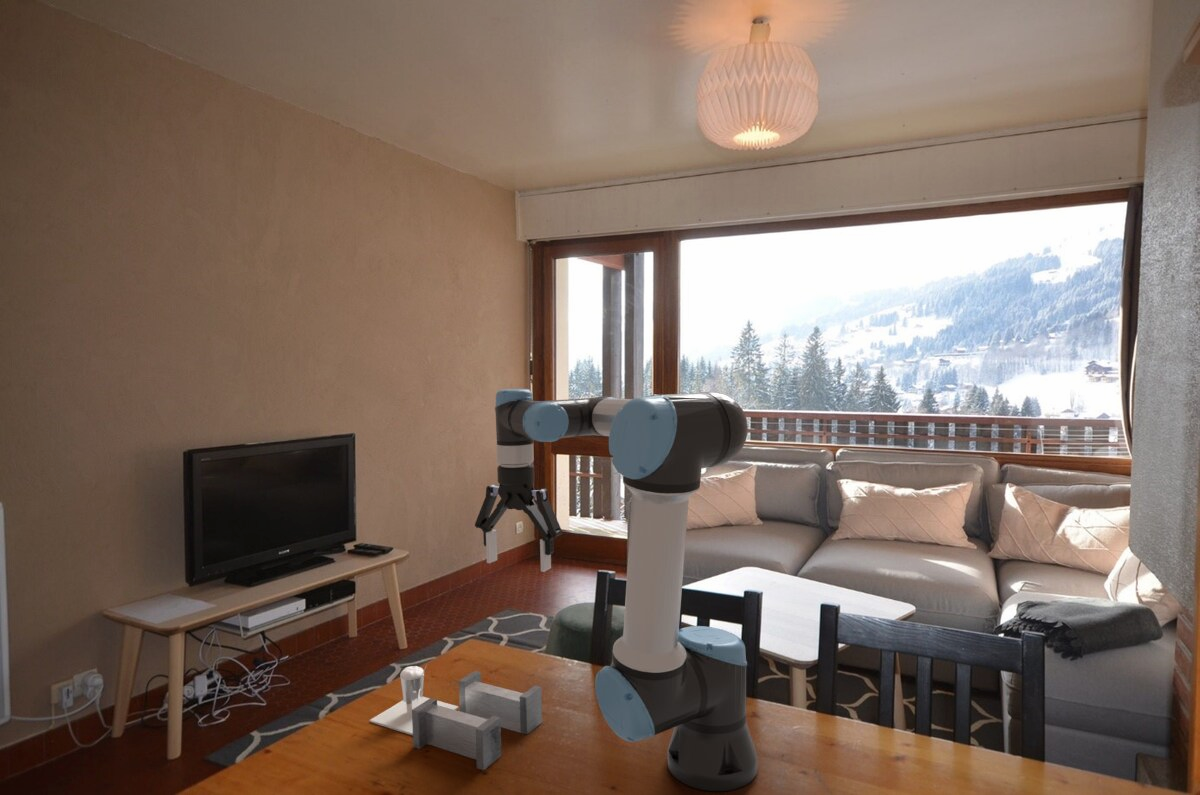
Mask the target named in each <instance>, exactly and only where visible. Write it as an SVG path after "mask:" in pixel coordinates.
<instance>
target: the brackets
mask: <svg viewBox="0 0 1200 795" xmlns="http://www.w3.org/2000/svg"><path fill="white" fill-rule="evenodd" d="M458 694H459V710H453V709H449V708H446V707H442V706H439V705H437V701H438V699H436V698H433V697H431V698H430V697H429V698H430V699H428V700H427V701H425V702H424V703H422V704H420V705H419V706H417V707H416V708H414V709H412V727H413V735H412V745H413V748H414V749H417V750H421V749H422V748H424V747H425V746H427V745H430V746H433V747H435V748H439V749H441V750H445V751H448V752H451V753H455V754H458V755H461V756H462V757H463V756H464V757H466V758H470V759H472V760H476V769H479V770H482V771H485V770H486V769H487V768H490V767H489V766H491V765H492V764H493V763H495V762H496V761H497V760H498V759H500V758H501V757H502V735H501V734H502V733H501V732H502V731H501V730H502V729H507V730H509V731H512V732H513V731H514V732H517V733H520V734H524V735H529V734H530V733H531V732H532V731H534V730H535V729H536V728H538V726H539V725H541V724H542V723H543V708H542V707H543V706H542V704H543V703H542V686H538V685H535V684H534V685H533V686H532V687H530V688H529V689H528V690H526V691H525V692H520V691H516V690H512V689H507V688H504V687H500V686H496V685H494V684H493V685H492V684H489V683H484V682H482V672H481V671H479V670H474V671H472V672H470V673H469V674H467V675H465V676H464V677H463V678H461V679H459V680H458Z"/></svg>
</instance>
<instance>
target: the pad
mask: <svg viewBox="0 0 1200 795" xmlns="http://www.w3.org/2000/svg"><path fill="white" fill-rule="evenodd" d="M428 699H430V697H426V696H423V702H422V703H424V702H425V701H427V700H428ZM437 705H439V706H442V707H446V708H449V709H453V710H456V711H458V710H460V705H459V706H458V705H456V704H455V705H454V704H451V703H449V702H448V703H447V702H444V701H440V700H437ZM369 722H370V723H371V724H375V725H378V726H381V727H385V728H388V729H390V730H394V731H398V732H400V733H404V734H407V735H410V736H413V727H412V717H408V716H406V715H405V709H404V700H403V699H402V700H401V701H399V702H397V703H396V704H394V705H393V706H390V708H387V709H385V710H384V711H382V712H381V713H379V714H378V715H375V716H374V717H372V718H371V719H369Z"/></svg>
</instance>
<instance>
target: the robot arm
mask: <svg viewBox="0 0 1200 795" xmlns="http://www.w3.org/2000/svg"><path fill="white" fill-rule="evenodd" d="M532 393H533V392H532V391H531V390H530V389H528V388H506V389H505V388H503V389H499V390H498V391H496V394H495V405H494V406H495V407H494V410H495V411H494V412H495V431H496V432H495V434H496V463H497V464H498V466H497V468H496V469H497V483H498V484H499V485H497V484H496V483H494V484H490V485H487V486H486V487H485V488H486V489H485V496H484V497H485V498H484V500H483V503H482V504H481V507H480V510H479V513H478V515H477V518H476V520H475V523H474V527H475V528H476V529H480V530H481V531H482V534H483V546H484V547H485V549H486V564H491V563H494V562H496V561H498V538H497V537H498V536H497V531H498V530H497V529H495V528H496V527H495V526H496V524H498V522H499V521H500V519H501V518H502V516H504V514H505V512H506V511H507V510H516V511H523V513H524V514H526V515H527V516H528V517H529V519H530V520H531V522H532V524H533V525H534V526H535V527H536V529H537V532H539V534H540V535H541V537H542V538H540V539H539V545H540V546H539V552H540V553H539V554H540V572H542V573H545V572H547V571H548V570H550V569H552V555H553V554H554V552H555V549H554V548H555V546H554V544H555V542H554V541H555V540H554V539H555V538H557V537H558V536H561V535H562V534H563V531H562V528H561V525H560V523H559V521H558V518H557V517H556V514H555V512H554V509H553V507H552V505H551V503H550V500H549V494H548V492H549V491H548V489H547V488H541V489H537V490H536V489H535V488H534V483H535V466H534V464H533V463H534V461H535V458H534V455H535V454H534V453H535V452H534V441H537V442H540V443H545V442H547V443H553V442H556V441H558V440H560V439H565V438H574V437H582V436H583V437H585V436H600V437H608V451H609V454H610V456H612V459H611V463H612V465H613V466H614V468H615V470H616V471H617V472H618V473H619V474H620V475H621V476H622V483H623V485H624V486H625V487H626V488H627V489H628V490H629V491H630V493H631V507H630V523H629V539H628V550H627V553H628V554H627V570H626V586H625V598H624V599H625V600H624V601H625V602H624V616H623V620H624V621H623V632H622V633H623V634H622V636H620V637H619V638H618V639H616V640H615V642H614V644H613V645H612V656H611V664H610V665H604V666H603V668H601V669H600V670H599V671H598V672H597V674H596V676H595V681H594V682H595V683H594V686H595V696H596V700H597V703H598V706H599V708H600V711H601V714H602V716H603V718H604V720H605V722H606V723H607V724H608V726H609V728H610V729H611V730H612V731H613V732H614V734H616V735H617V736H618V737H619V738H621V739H622V740H624V741H627V742H630V743H634V742H639V741H643V740H645V739H652V738H654V737H655V736H657V735H658V734H661V733H664V732H666V731H669V730H671V729H673V728H674V729H673V732H672V734H671V738H670V741H669V744H668V747H667V768H668V770H669V771H670V772H669V773H670V774H671V775H672V776H673V777H674V778H675V779H677V780H678V781H679V782H681V783H683V784H684V785H687V786H689V787H691V788H694V789H698V790H701V791H708V792H709V791H710V792H726V791H727V792H728V791H733V790H736V789H740V788H742V787H745V786H747V785H748V784H749V783H751V782H752V781H753V780H754V779H755V777H756V775H757V773H758V755H757V751H756V748H755V745H754V742H753V740H752V736H751V733H750V730H749V727H748V724H747V667H748V661H747V658H746V646H745V643H744V641H743V640H742V639H741V638H740V637H739V636H738V635H736V634H735V633H733V632H730V631H728V630H725V629H722V628H721V629H720V628H717V627H712V626H706V625H703V626H702V625H692V626H690V625H689V626H686V627H685V626H684V627H682V628H680V618H681V606H682V603H681V602H682V592H683V591H682V590H683V580H684V578H683V577H684V567H685V566H684V565H685V564H684V563H685V553H686V538H687V526H688V512H689V499H690V498H691V496H693V495H694V494H696V493H697V492H698V491H699V490H700V488H701V478H702V470H703V469H707V468H712V467H718V466H721V465H724V464H726V463H729V462H730V461H731V460H733V459H734V458H735V457H736V456H737V455H739V454H740V452H741V451H742V449H743V448H744V446H745V444H746V441H747V438H748V434H749V431H748V429H749V428H748V427H749V425H748V420H747V416H746V414H745V412H744V410H743V408H742V407H741V406H740V404H738V403H737V401H735V400H734V399H733V398H731V397H730V396H728V395H725V394H723V393H719V392H713V391H704V392H702V391H701V392H694V393H693V392H691V393H689V392H688V393H687V392H686V393H673V394H672V393H670V394H667V393H666V394H655V393H654V394H651V395H648V396H643V397H636V398H633V399H632V398H630V399H629V398H616V397H614V396H596V397H586V398H571V399H568V398H567V399H553V400H534V398H533V394H532ZM498 496H499V498H500V499H499V501H498V503H497V504H496V507H495V509H494V510H493V508H494V505H495V503H496V500H497V497H498ZM492 510H493V512H492Z"/></svg>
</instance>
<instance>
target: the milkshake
mask: <svg viewBox="0 0 1200 795" xmlns="http://www.w3.org/2000/svg"><path fill="white" fill-rule="evenodd" d="M427 666H428V664H426V665H425V667H424V669H423V668H422V667H421V666H417V665H413V666H412V665H411V666H406V667H405V668H403V670H401V672H400V674H399V675H400V677H399V678H400V685H401V690H402V700H404V709H405V715H406V716H408V717H412V709H414V708H416V707H417V706H419V705H420V704H422V702H423V697H424V696H423V694H424V682H425V681H424V678H425V670H426V668H427Z"/></svg>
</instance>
